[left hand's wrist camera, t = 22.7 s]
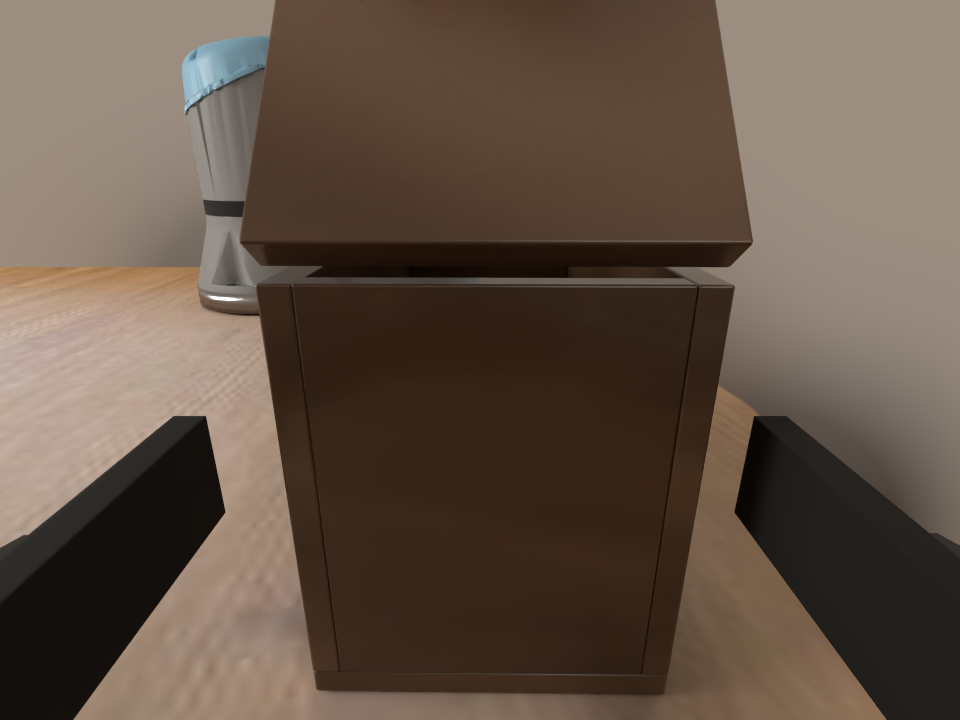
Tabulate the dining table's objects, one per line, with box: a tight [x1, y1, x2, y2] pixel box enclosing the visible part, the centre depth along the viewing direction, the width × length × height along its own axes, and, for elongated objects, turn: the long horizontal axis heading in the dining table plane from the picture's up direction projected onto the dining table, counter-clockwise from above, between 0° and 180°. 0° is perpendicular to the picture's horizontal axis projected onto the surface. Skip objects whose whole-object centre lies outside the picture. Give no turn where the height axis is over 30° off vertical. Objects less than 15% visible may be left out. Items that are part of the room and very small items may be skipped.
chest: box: [255, 266, 735, 694], centre depth 20 cm, size 16×9×11 cm, turn 179°
